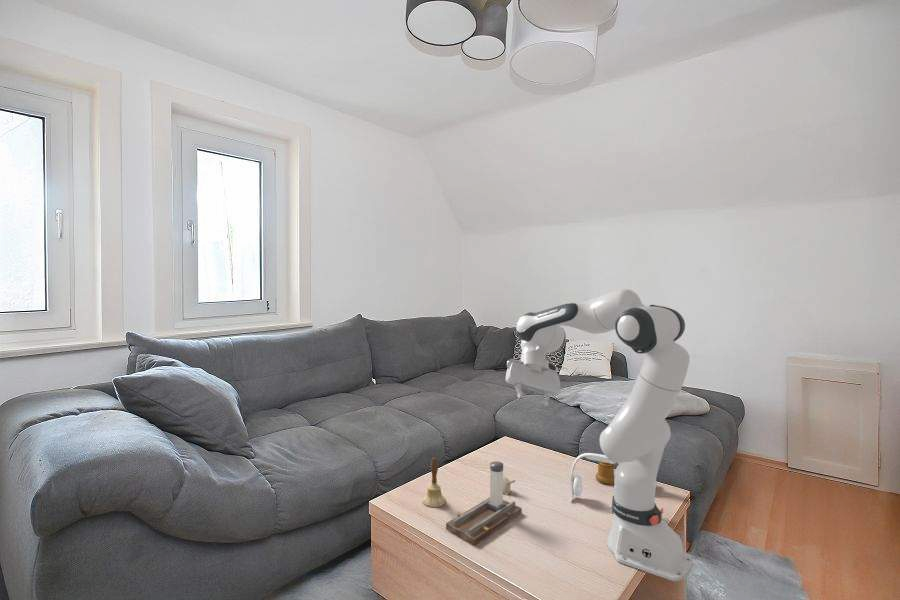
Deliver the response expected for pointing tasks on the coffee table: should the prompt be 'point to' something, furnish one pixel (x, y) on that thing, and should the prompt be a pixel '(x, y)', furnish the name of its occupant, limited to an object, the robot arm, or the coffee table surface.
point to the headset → (577, 481)
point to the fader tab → (496, 486)
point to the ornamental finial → (605, 473)
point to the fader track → (482, 521)
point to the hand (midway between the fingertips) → (533, 401)
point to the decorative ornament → (506, 485)
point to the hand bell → (434, 489)
